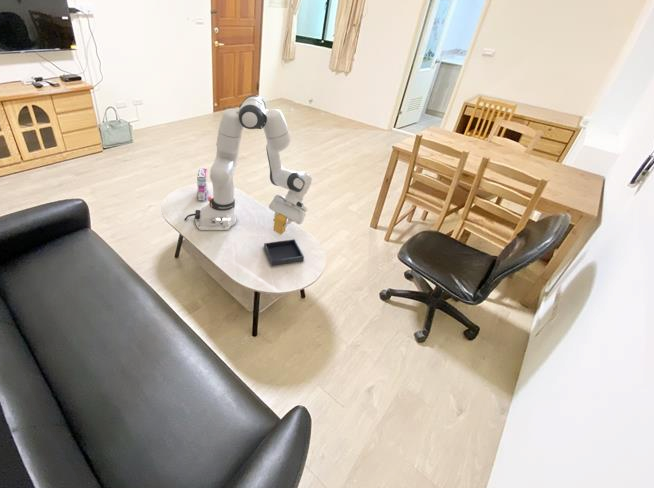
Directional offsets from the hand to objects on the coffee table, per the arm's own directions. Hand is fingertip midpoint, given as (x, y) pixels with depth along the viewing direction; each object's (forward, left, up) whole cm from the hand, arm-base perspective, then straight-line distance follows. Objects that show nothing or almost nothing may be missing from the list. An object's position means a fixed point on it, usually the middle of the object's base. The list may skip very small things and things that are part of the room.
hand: (279, 224), depth 173 cm
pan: (-2, -14, -9) cm, 16 cm away
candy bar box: (-34, +46, -9) cm, 58 cm away
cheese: (+1, 0, -5) cm, 5 cm away
